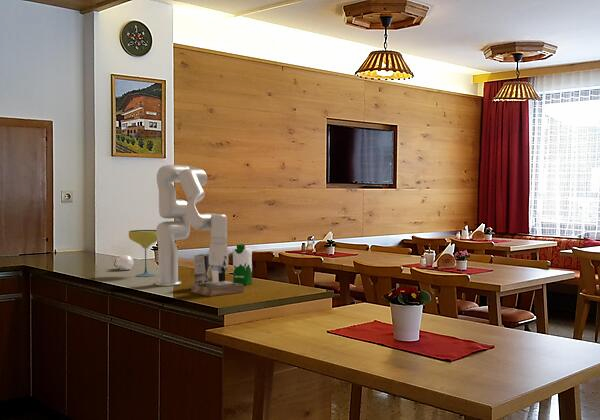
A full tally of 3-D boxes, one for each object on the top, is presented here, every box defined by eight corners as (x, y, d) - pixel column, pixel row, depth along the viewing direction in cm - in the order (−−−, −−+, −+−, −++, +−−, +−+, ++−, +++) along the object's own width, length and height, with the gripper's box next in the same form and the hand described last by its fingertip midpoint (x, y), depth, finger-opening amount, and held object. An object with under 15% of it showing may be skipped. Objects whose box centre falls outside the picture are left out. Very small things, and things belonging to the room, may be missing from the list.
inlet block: (205, 290, 309) (205, 282, 309) (221, 288, 315) (221, 280, 315) (216, 292, 303) (216, 284, 303) (233, 290, 309) (232, 282, 309)
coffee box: (207, 289, 317) (206, 255, 317) (194, 289, 319) (193, 255, 318) (213, 286, 326) (213, 253, 326) (200, 286, 328) (200, 253, 327)
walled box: (191, 292, 308) (191, 284, 308) (223, 288, 320) (223, 281, 320) (210, 296, 296) (210, 288, 296) (243, 292, 308) (243, 284, 308)
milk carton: (230, 285, 331) (230, 245, 331) (238, 283, 340) (238, 243, 339) (247, 286, 328) (246, 245, 328) (254, 283, 337) (254, 244, 336)
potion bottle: (127, 273, 394) (117, 274, 405) (139, 263, 399) (129, 263, 411) (117, 261, 391) (107, 262, 403) (130, 250, 396) (119, 252, 408)
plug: (212, 287, 309) (212, 265, 309) (220, 286, 312) (220, 265, 312) (217, 288, 306) (217, 266, 306) (225, 287, 309) (225, 265, 309)
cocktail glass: (143, 273, 384) (142, 229, 383) (169, 274, 376) (168, 230, 375) (122, 276, 367) (121, 231, 367) (148, 278, 360) (148, 232, 359)
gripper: (202, 240, 312) (202, 279, 313) (222, 242, 300) (222, 283, 300) (215, 239, 317) (215, 278, 318) (236, 241, 305) (236, 281, 305)
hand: (219, 280), depth 309 cm, fingers closed on plug, 3 cm apart
